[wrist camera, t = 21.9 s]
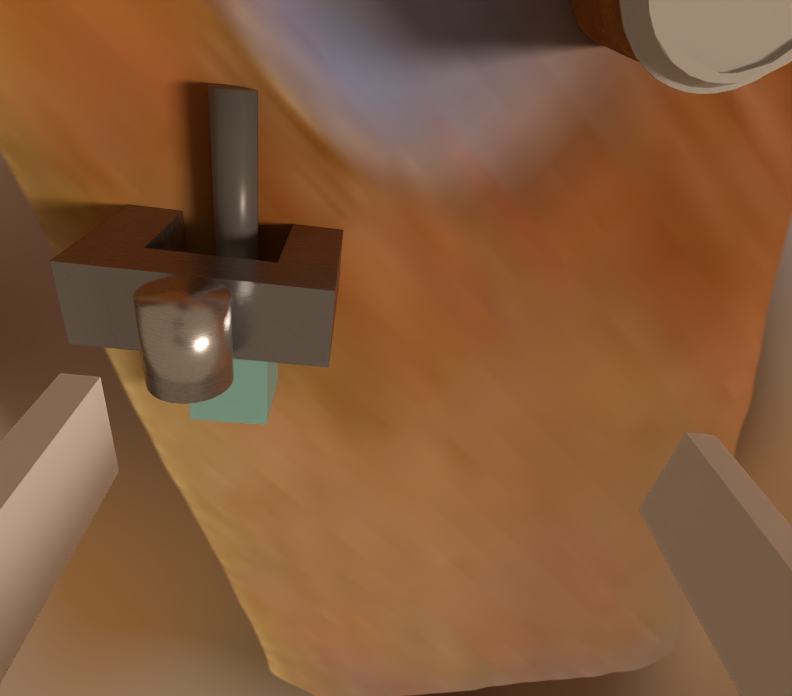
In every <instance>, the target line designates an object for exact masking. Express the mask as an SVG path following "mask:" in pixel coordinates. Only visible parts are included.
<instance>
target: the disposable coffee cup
mask: <svg viewBox="0 0 792 696" xmlns="http://www.w3.org/2000/svg"><path fill="white" fill-rule="evenodd" d="M571 4H572V10H573V14H574V17H575V20H576V22H577V24H578V26H579V27H580V29H581V31H582V32H583V33H584V34H586V35H587V36H588V37H589V38H590V39H591V40H593V41H594V42H596V43H598V44H601V45H603V46H606V47H608V48H610V49H612V50H614V51H616V52H618V53H620V54H623V55H625V56H627V57H629V58H632V59H633V60H636V61H638V62H640V63H641V64H642V65H643V66H644V68H645V69H646V70H647V71H648V72H649V73H650V74H651V75H652V76H653V77H655V78H656V79H658V80H659V81H661V82H662V83H664V84H666V85H667V86H669V87H672V88H675V89H678V90H681V91H684V92H689V93H697V94H708V93H718V92H723V91H729V90H734V89H736V88H739V87H741V86H744V85H746V84H749V83H751V82H754V81H756V80H758V79H759V78H761V77H763V76H765V75H766V74H768V73H770V72H772V71H774V70H776V69H778V68H780V67H782V66H784V65H786V64H788V63H789V62H791V61H792V0H571Z"/></svg>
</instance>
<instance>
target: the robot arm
mask: <svg viewBox="0 0 792 696" xmlns="http://www.w3.org/2000/svg"><path fill="white" fill-rule="evenodd" d="M118 472H119V470H118V465H117V459H116V455H115V449H114V444H113V440H112V434H111V429H110V424H109V419H108V414H107V409H106V404H105V399H104V393H103V389H102V383H101V378H100V377H94V376H83V375H72V374H63V373H60V374H59V376H58V377H57V378H56V379H55V380H54V381H53V382H52V384H51V385H50V386H49V387H48V388H47V389H46V390H45V392H44V393H43V394H42V395H41V396H40V397H39V398H38V400H37V401H36V402H35V403H34V404H33V405H32V406H31V408H30V409H29V410H28V411H27V412H26V413H25V414H24V416H23V417H22V418H21V419H20V420H19V421H18V422H17V424H16V425H15V426H14V427H13V428H12V429H11V430H10V431H9V433H8V434H7V435H6V436H5V437H4V438H3V439H2V441H1V442H0V683H1V682H2V680H3V678H4V676H5V675H6V673H7V671H8V669H9V667H10V666H11V664H12V662H13V660H14V658H15V657H16V655H17V653H18V651H19V649H20V648H21V646H22V644H23V642H24V640H25V639H26V637H27V635H28V633H29V631H30V630H31V628H32V626H33V624H34V622H35V621H36V619H37V617H38V615H39V613H40V612H41V610H42V608H43V606H44V605H45V602H46V601H47V599H48V597H49V595H50V594H51V592H52V590H53V588H54V587H55V584H56V583H57V581H58V579H59V577H60V576H61V574H62V572H63V570H64V569H65V567H66V565H67V563H68V561H69V560H70V558H71V556H72V554H73V552H74V551H75V549H76V547H77V545H78V543H79V541H80V540H81V538H82V536H83V534H84V533H85V531H86V529H87V527H88V525H89V524H90V522H91V520H92V518H93V517H94V514H95V513H96V511H97V509H98V508H99V506H100V504H101V502H102V500H103V498H104V497H105V495H106V493H107V491H108V490H109V488H110V486H111V484H112V482H113V481H114V479H115V477H116V475H117V473H118ZM638 510H639V512H640V514H641V516H642V517H643V519H644V521H645V523H646V525H647V527H648V528H649V530H650V532H651V534H652V536H653V538H654V539H655V541H656V543H657V545H658V547H659V548H660V550H661V552H662V554H663V556H664V558H665V559H666V561H667V563H668V565H669V567H670V569H671V570H672V572H673V574H674V576H675V578H676V580H677V581H678V583H679V585H680V587H681V589H682V590H683V592H684V594H685V596H686V598H687V600H688V601H689V603H690V605H691V607H692V609H693V611H694V612H695V614H696V616H697V618H698V620H699V622H700V623H701V625H702V627H703V629H704V631H705V632H706V634H707V636H708V638H709V640H710V641H711V643H712V645H713V647H714V649H715V651H716V653H717V654H718V656H719V658H720V660H721V662H722V663H723V665H724V667H725V669H726V671H727V673H728V674H729V676H730V678H731V680H732V682H733V684H734V685H735V687H736V689H737V691H738V693H739V695H740V696H792V527H791V526H790V525H789V523H788V522H787V521H786V520H785V519H784V517H783V516H782V515H781V514H780V512H779V511H778V510H777V509H776V508H775V507H774V505H773V504H772V503H771V502H770V500H769V499H768V498H767V497H766V496H765V494H764V493H763V492H762V491H761V490H760V488H759V487H758V486H757V485H756V484H755V482H754V481H753V480H752V479H751V478H750V476H749V475H748V474H747V473H746V472H745V470H744V469H743V468H742V467H741V466H740V464H739V463H738V462H737V461H736V459H735V458H734V457H733V456H732V455H731V453H730V452H729V451H728V450H727V449H726V447H725V446H724V445H723V444H722V443H721V441H720V440H719V439H718V438H717V437H716V435H706V434H696V433H685V435H684V437H683V438H682V440H681V441H680V443H679V445H678V446H677V448H676V449H675V451H674V453H673V454H672V456H671V457H670V459H669V461H668V462H667V464H666V465H665V467H664V469H663V470H662V472H661V473H660V475H659V477H658V478H657V480H656V481H655V483H654V485H653V486H652V488H651V489H650V491H649V493H648V494H647V496H646V497H645V499H644V501H643V502H642V504H641V505H640V507H639V509H638Z"/></svg>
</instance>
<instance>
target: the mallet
mask: <svg viewBox="0 0 792 696" xmlns="http://www.w3.org/2000/svg"><path fill="white" fill-rule="evenodd" d="M208 103H209V124H210V145H211V165H212V186H213V207H214V227H215V248H216V256H223V257H232V258H241V259H250V260H258V91H257V90H254V89H250V88H245V87H240V86H232V85H222V84H209V85H208ZM233 368H234V379H233V382H232V384H231V386H230V387H229V388H228V389H227V390H226V391H225V392H223V393H222V394H220V395H219V396H217V397H215V398H212V399H209V400H206V401H203V402H197V403H189V406H190V417H191V419H197V420H210V421H224V422H238V423H252V424H266V425H267V421H268V417H269V413H270V409H271V405H272V402H273V398H274V394H275V390H276V386H277V381H278V363H275V362H264V361H253V360H241V359H233Z"/></svg>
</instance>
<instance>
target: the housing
mask: <svg viewBox="0 0 792 696" xmlns="http://www.w3.org/2000/svg"><path fill="white" fill-rule="evenodd" d="M342 239H343V230H338V229H329V228H321V227H312V226H304V225H296V224H293V226H292V229H291V231H290V234H289V236H288V239H287V241H286V244H285V246H284V249H283V251H282V254H281V256H280V259H279V261H278V263H277V262H268V261H259V260H250V259H241V258H232V257H223V256H214V255H205V254H196V253H187V252H186V246H185V234H184V222H183V211H178V210H170V209H161V208H153V207H144V206H136V205H128V206H127V207H125V208H124V209H122V210H121V211H119V212H118V213H117V214H115V215H114V216H112V217H111V218H110V219H108V220H107V221H105V222H104V223H103V224H101V225H100V226H98V227H97V228H95V229H94V230H93V231H91V232H90V233H88V234H87V235H86V236H84V237H83V238H81V239H80V240H78V241H77V242H76V243H74V244H73V245H71V246H70V247H69V248H67V249H66V250H64V251H63V252H62V253H60V254H59V255H57V256H56V257H54V258H53V259H52V260H50V265H51V269H52V273H53V278H54V282H55V286H56V290H57V295H58V299H59V303H60V307H61V311H62V316H63V320H64V325H65V329H66V333H67V337H68V342H69V344H74V345H84V346H95V347H106V348H118V349H129V350H140V351H141V355H142V362H143V369H144V375H145V382H146V387H147V389H148V391H149V392H150V393H151V394H152V395H153V396H155V397H156V398H158V399H160V400H163V401H166V402H171V403H179V404H189V403H197V402H203V401H206V400H209V399H212V398H215V397H217V396H219V395H220V394H222V393H223V392H225V391H226V390H227V389H228V388H229V387H230V386H231V384H232V382H233V379H234V368H233V359H241V360H253V361H264V362H275V363H287V364H298V365H309V366H320V367H329V361H330V353H331V345H332V336H333V328H334V320H335V312H336V304H337V296H338V285H339V273H340V262H341V250H342Z"/></svg>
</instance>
